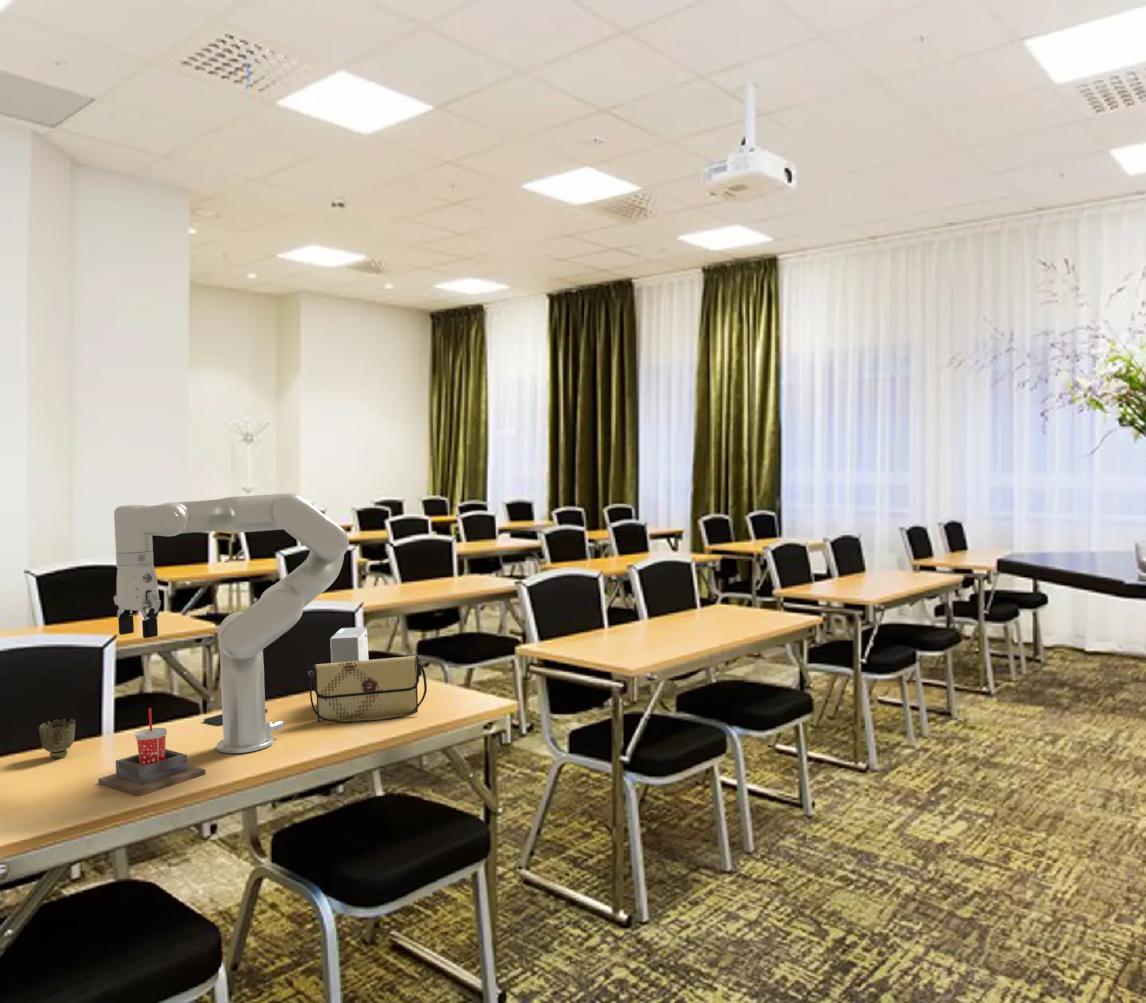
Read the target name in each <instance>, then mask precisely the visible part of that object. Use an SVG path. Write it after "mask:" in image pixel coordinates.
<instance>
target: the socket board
mask: <svg viewBox="0 0 1146 1003" xmlns="http://www.w3.org/2000/svg"><path fill="white" fill-rule="evenodd" d="M205 775H206V769H205V768H202V767H197V766H193V765H189V764H188V754H186V753H183V752H178V751H174V750H170V749H166V748H165V760H162V761H158V762H155V763H152V764H148V765H145V766H144V765H140V763H139V754H133V755H131V756H127V757H123V758H120V759H117V760H115V773H113V774H109V775H106V776H102V777H99V778H98V780H97V781H98V784H99V785H102V786H105V787H108V788H112V789H115V790H118V791H120V792H124V793H127V794H130V795H132V796H133V795H134V796H135V797H139V796H143V795H145V794H148V793H151V792H155V791H159V790H161V789H163V788H167V787H171V786H174V785H176V784H180V783H182V782H185V781H189V780H191V779H195V778H198V777H201V776H205Z"/></svg>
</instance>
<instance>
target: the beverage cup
mask: <svg viewBox="0 0 1146 1003" xmlns="http://www.w3.org/2000/svg"><path fill="white" fill-rule="evenodd" d="M152 719H153V716H152V708H151V707H149V708H148V722H149V728H145V729H142V730H139V731H137V732H135V733H134V736H135V737H134V738H135V739H136V743H137V745H136V746H137V752H138V754H139V763H140V765H144V766H145V765H148V764H152V763H155V762H158V761H162V760H165V749H166V740H167V738H166V737H167V734H168V733H167V731H168V729H167V728H165V727H153V720H152Z"/></svg>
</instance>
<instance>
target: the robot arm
mask: <svg viewBox="0 0 1146 1003" xmlns="http://www.w3.org/2000/svg"><path fill="white" fill-rule="evenodd" d="M113 517H114V518H113V520H114V540H115V544H114V545H115V562H116V563H115V565H116V569H117V571H116V595H114V596H113V601H114V605H115V607H114V608H115V610H116V616H117V618H118V633H119V634H118V635H120V636H122V635H123V636H124V635H129V634H130V635H131V634H133V633H134V632H135V627H134V625H135V624H134V615H132V613H133V612H140V613H141V615H142V618H143V619H142V620H141V625H142V626H141V627H142V638H144V639H148V638H149V639H150V638H154V637H158V636H159V635H158V634H159V633H158V631H159V630H158V619H159V614H160V611H161V610H160V609H161V608H160V607H161V602H162V601H161V599H160V593H159V584H158V577H157V572H156V568H155V565H154V551H153V550H154V548H153V547H154V546H153V545H154V543H153V542H154V541H153V536H156V537H157V536H159V537H160V536H161V537H175V536H177V535H178V536H179V535H180V534H191V533H201V532H202V533H204V532H205V533H206V532H207V533H208V532H222V533H229V534H236V533H237V534H238V533H239V534H240V533H251V532H252V533H253V532H265V531H277V530H278V531H280V530H284V531H285V532H286V533H287V534H289V535H290V536H291V537H293V538H294V539H295V540H296V541H298V542H299V543H300V544H302V545H303V546H305V547H306V548H307V549H308V550H309V554H308V555H307V557H306V559H305V560H304V561H303V562H302V563H301V564H300V565H298V566H297V567H296V568H295V569H294V570H292V572H289V574H287V575H286V576H284V577H283V578H281V579H280V580H279V581H277V582H276V583H274V584H273V585H271V586H270V587H268V588H267V589H266V590H264V592H262V594H261V596H260V598H259V599H258V601H255V603H254V604H252V605H251V606H249V607H248V608H247V609H246V610H245V609H244V611H236V612H233V613H231V614H229V615H227V616H226V617H224V619H223V620H222V622H221V623H220V625H219V628H218V644H219V645H218V646H219V659H220V660H219V662H220V665H219V667H220V685H221V686H220V688H221V708H222V710H221V711H222V713H221V714H222V716H223V725H222V736H223V739H221V740H219V741H218V742H217V744H216V750H217V751H218V752H219V753H223V754H243V753H244V754H245V753H246V754H247V753H251V752H252V753H253V752H255V751H260V750H263V749H267V748H268V747H271V746H272V745H273V744H274V737H273V735H271V734H272V733H273V731H274V732H275V731H278V730H281V729H284V722H283V721H282V720H278V721H276V722H275V721H274V722H271V721H269V722H268V721H267V720H266V717H267V715H266V713H265V709H266V694H265V691H266V690H265V669H264V668H265V666H264V665H265V664H264V649H265V648H267V647H268V646H270V645H271V644H272V643H274V642H275V641H276V640H278V639H279V638H280V637H281V636H283V635H284V634H285V633H287V632H289V630H291V629H292V628H293V627H294V626H295V625H296V624H297V623H298V621H299V620H300V619H301V618H302V615H303V613H304V608H305V607H307V606H308V605H309V604H310V603H311V602H313V601H314V600H315V599H317V598H318V597H319V596H320V595H321V594H323V593H324V592H325V591H326V590H328V588H330V586H332V584H333V583H334V582H335V581H336V579H337V578H338V576H339V575H340V572H341V571H342V570H341V569H342V567H343V563H344V559H345V554H346V553H347V551H348V549H349V545H350V541H349V536H348V533H347V532H346V530H345V529H344V528H343V527H342V526H340V524H338V523H336V522H335V521H333V520H332V519H331V518H329V517H328V516H327V515H325V513H323V512H321V511H320V510H319V509H317V507H315V506H314V505H313V504H311V503H310V502H309V501H308V500H307V499H305V498H304V497H302V496H301V495H299V494H296V493H273V494H271V493H270V494H258V495H257V494H255V495H246V496H245V495H242V496H241V495H239V496H228V497H224V498H217V499H206V500H192V501H175V502H174V501H173V502H166V503H161V504H156V505H144V504H130V505H120V506H117V507H116V508H115V509H114V510H113Z"/></svg>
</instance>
